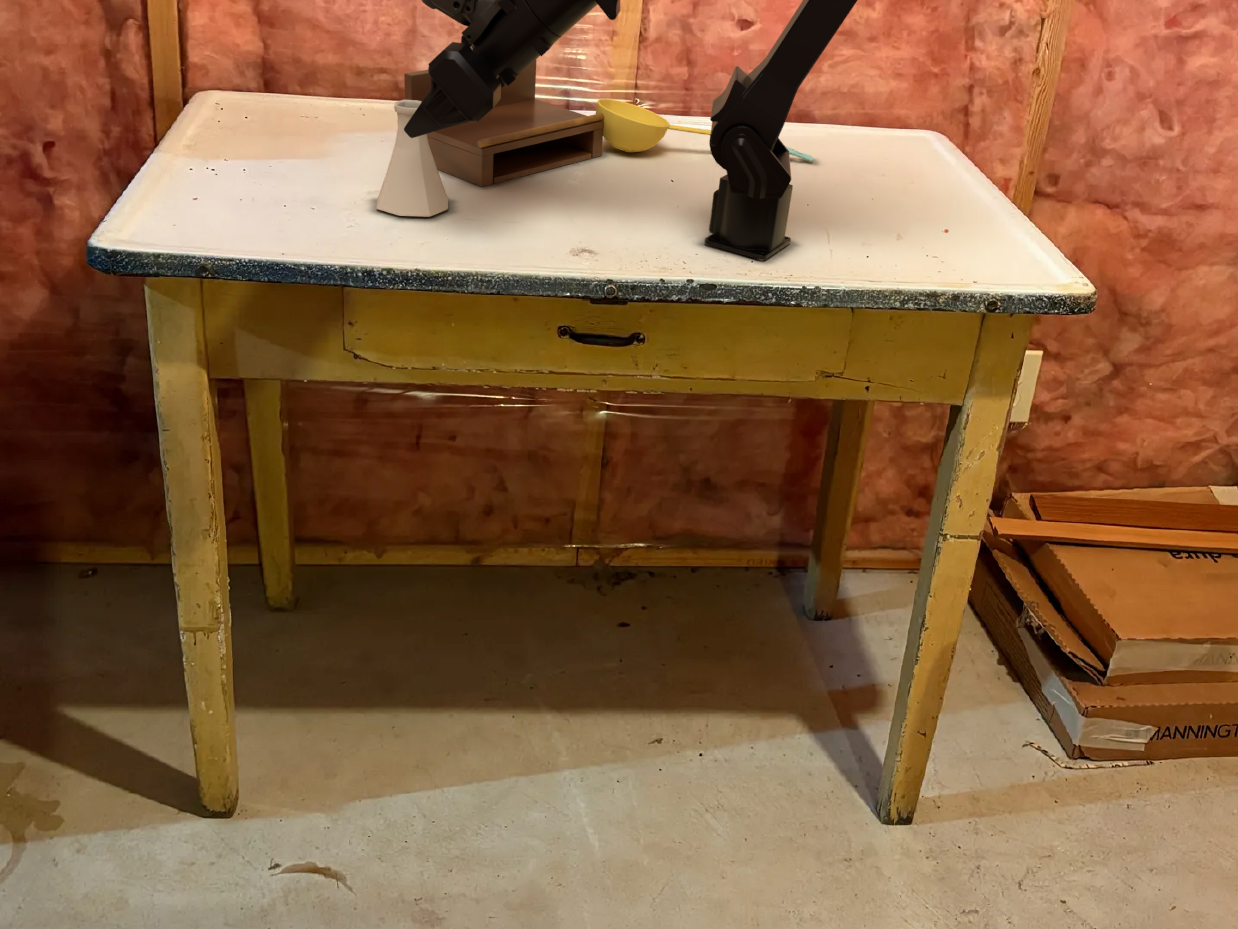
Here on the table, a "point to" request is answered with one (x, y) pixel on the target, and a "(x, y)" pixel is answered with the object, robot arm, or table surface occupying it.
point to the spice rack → (511, 134)
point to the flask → (411, 173)
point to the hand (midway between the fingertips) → (420, 120)
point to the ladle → (643, 127)
